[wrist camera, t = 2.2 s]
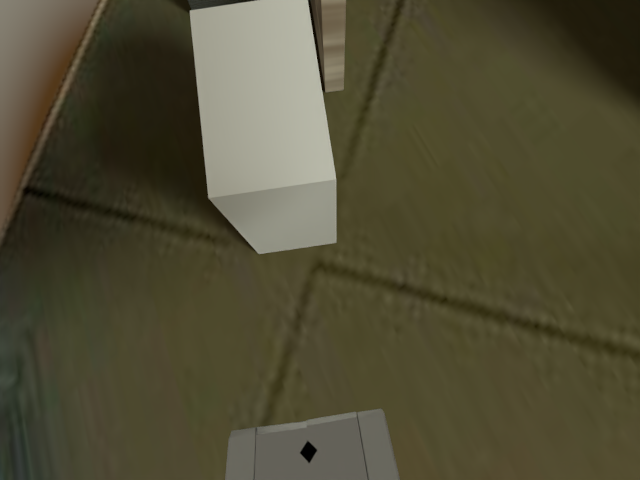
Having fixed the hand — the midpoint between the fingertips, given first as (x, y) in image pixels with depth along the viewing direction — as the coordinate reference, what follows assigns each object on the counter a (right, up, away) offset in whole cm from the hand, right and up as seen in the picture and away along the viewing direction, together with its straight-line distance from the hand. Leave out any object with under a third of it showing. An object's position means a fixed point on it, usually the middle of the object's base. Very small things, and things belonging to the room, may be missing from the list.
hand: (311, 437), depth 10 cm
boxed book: (-2, +8, +29) cm, 30 cm away
